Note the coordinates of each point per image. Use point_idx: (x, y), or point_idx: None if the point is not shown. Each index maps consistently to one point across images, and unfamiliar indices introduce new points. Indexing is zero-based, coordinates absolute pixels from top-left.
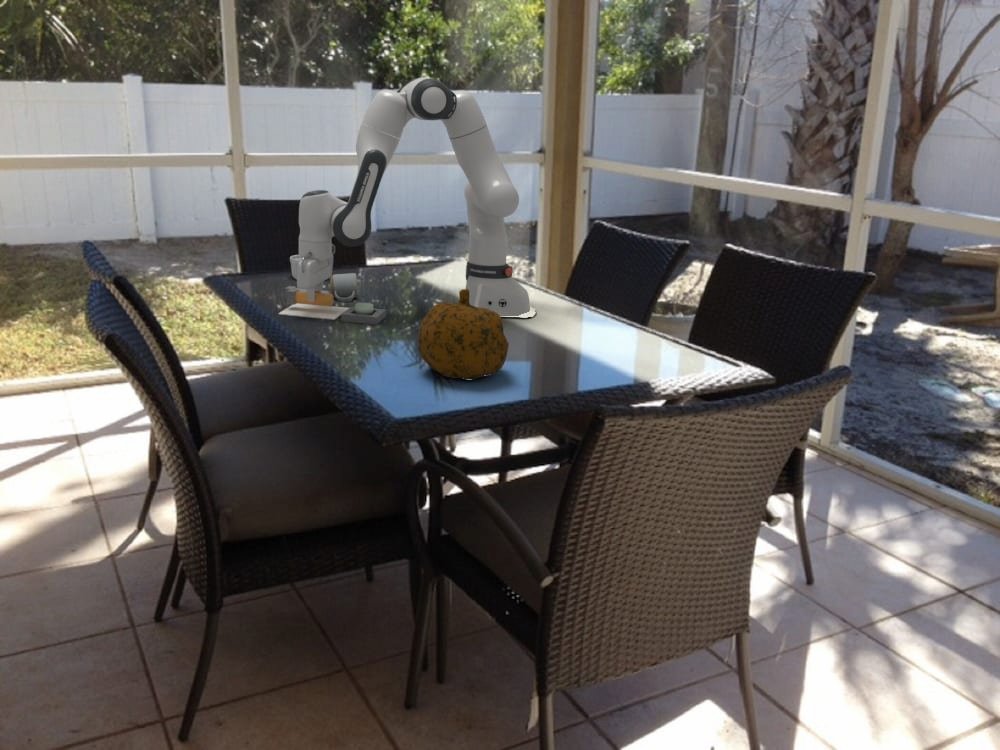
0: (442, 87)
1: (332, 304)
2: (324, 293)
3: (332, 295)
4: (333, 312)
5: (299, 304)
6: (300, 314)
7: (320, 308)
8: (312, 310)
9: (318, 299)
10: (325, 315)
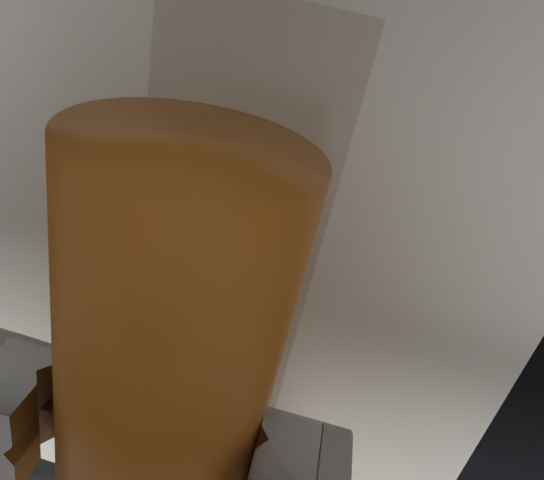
0: None
1: (181, 103)
2: (120, 355)
3: (102, 160)
4: (276, 57)
5: None
6: (432, 429)
7: None
8: None
9: (274, 380)
10: (483, 165)
